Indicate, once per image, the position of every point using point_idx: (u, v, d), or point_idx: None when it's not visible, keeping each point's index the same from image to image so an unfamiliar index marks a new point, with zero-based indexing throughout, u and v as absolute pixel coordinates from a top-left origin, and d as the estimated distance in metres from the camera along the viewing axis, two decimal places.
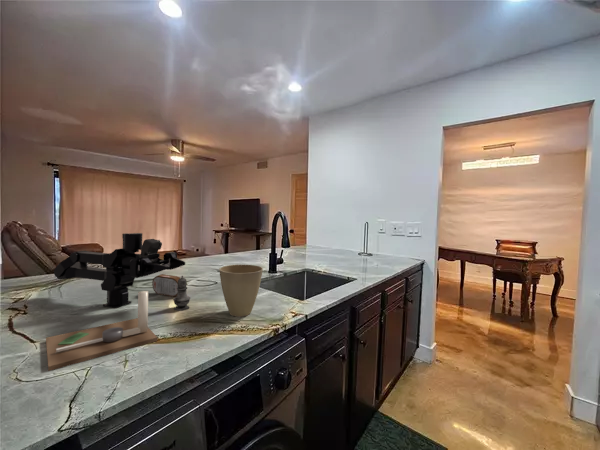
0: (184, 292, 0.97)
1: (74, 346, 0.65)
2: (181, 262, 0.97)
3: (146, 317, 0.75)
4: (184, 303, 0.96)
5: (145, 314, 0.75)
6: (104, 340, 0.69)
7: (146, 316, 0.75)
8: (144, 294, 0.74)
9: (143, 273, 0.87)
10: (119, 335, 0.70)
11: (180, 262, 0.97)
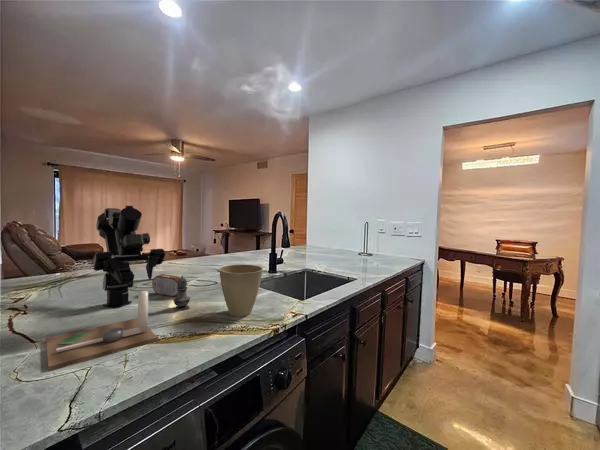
0: (184, 292, 0.97)
1: (74, 346, 0.65)
2: (149, 275, 0.84)
3: (146, 317, 0.75)
4: (184, 303, 0.96)
5: (145, 314, 0.75)
6: (104, 340, 0.69)
7: (146, 316, 0.75)
8: (144, 294, 0.74)
9: (106, 269, 0.81)
10: (119, 335, 0.70)
11: (148, 274, 0.84)
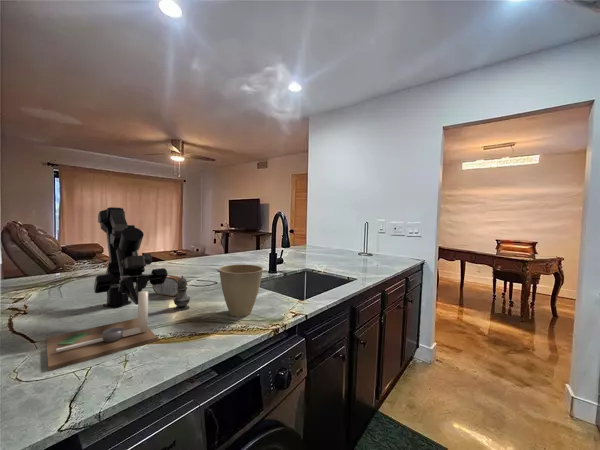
0: (184, 292, 0.97)
1: (74, 346, 0.65)
2: None
3: (146, 317, 0.75)
4: (184, 303, 0.96)
5: (145, 314, 0.75)
6: (104, 340, 0.69)
7: (146, 316, 0.75)
8: (144, 294, 0.74)
9: (122, 290, 0.81)
10: (119, 335, 0.70)
11: None
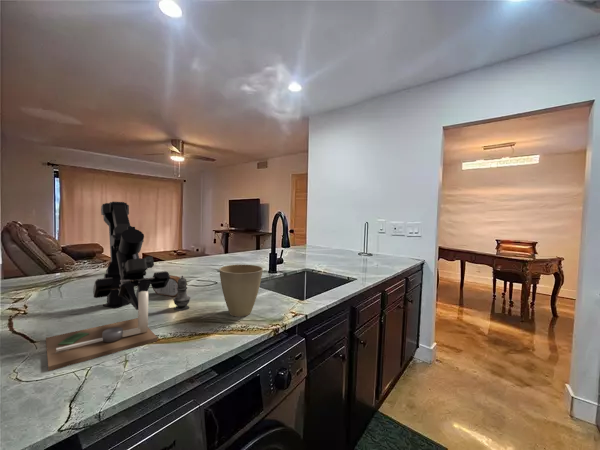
0: (184, 292, 0.97)
1: (74, 346, 0.65)
2: None
3: (146, 317, 0.75)
4: (184, 303, 0.96)
5: (145, 314, 0.75)
6: (104, 340, 0.69)
7: (146, 316, 0.75)
8: (144, 294, 0.74)
9: (122, 294, 0.78)
10: (119, 335, 0.70)
11: None
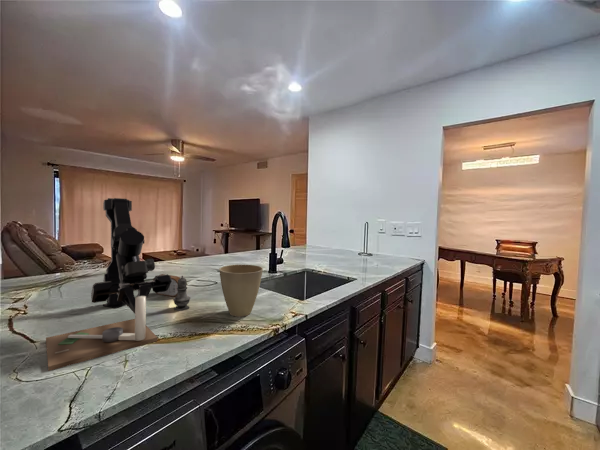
0: (184, 292, 0.97)
1: (81, 336, 0.70)
2: None
3: (140, 325, 0.70)
4: (184, 303, 0.96)
5: (139, 321, 0.70)
6: None
7: (140, 324, 0.70)
8: (138, 300, 0.69)
9: (121, 299, 0.74)
10: (112, 337, 0.69)
11: None
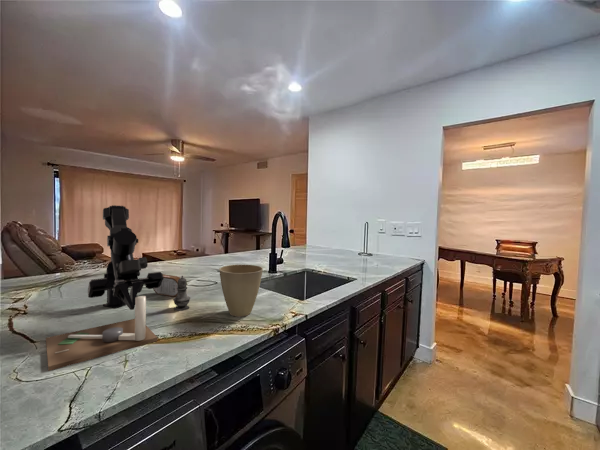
0: (184, 292, 0.97)
1: (81, 336, 0.70)
2: None
3: (140, 325, 0.70)
4: (184, 303, 0.96)
5: (139, 321, 0.70)
6: None
7: (140, 324, 0.70)
8: (138, 300, 0.69)
9: (117, 294, 0.80)
10: (112, 337, 0.69)
11: None
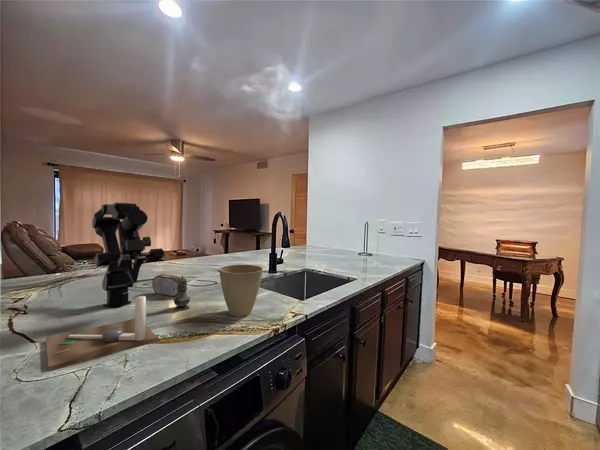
0: (184, 292, 0.97)
1: (81, 336, 0.70)
2: None
3: (140, 325, 0.70)
4: (184, 303, 0.96)
5: (139, 321, 0.70)
6: None
7: (140, 324, 0.70)
8: (138, 300, 0.69)
9: (121, 265, 0.88)
10: (112, 337, 0.69)
11: None
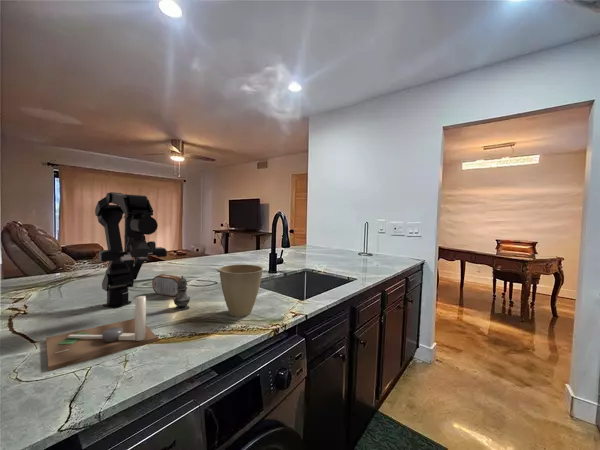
0: (184, 292, 0.97)
1: (81, 336, 0.70)
2: None
3: (140, 325, 0.70)
4: (184, 303, 0.96)
5: (139, 321, 0.70)
6: None
7: (140, 324, 0.70)
8: (138, 300, 0.69)
9: None
10: (112, 337, 0.69)
11: None
